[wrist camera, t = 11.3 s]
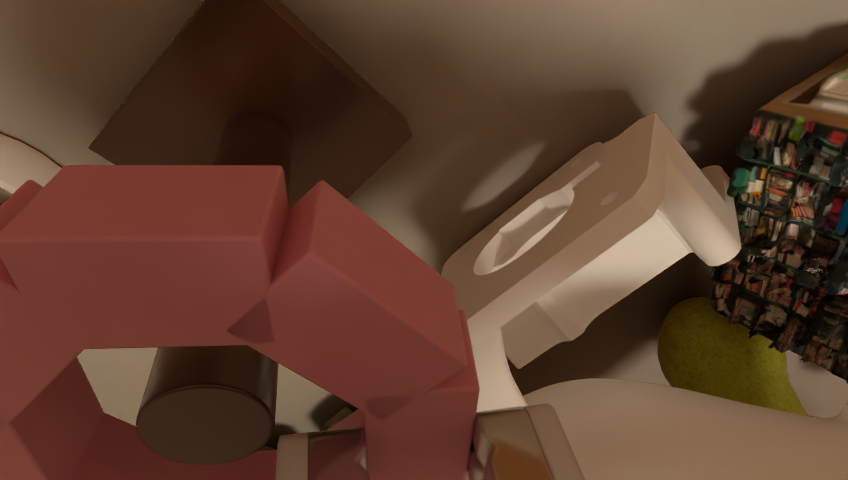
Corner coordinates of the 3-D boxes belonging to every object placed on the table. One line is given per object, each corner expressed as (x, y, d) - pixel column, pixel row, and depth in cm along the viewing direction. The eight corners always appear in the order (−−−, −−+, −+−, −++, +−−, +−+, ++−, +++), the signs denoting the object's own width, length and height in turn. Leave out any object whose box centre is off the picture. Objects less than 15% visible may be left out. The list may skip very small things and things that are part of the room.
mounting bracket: (648, 83, 24) (761, 101, 14) (729, 188, 25) (889, 275, 15) (447, 246, 28) (422, 353, 18) (526, 332, 29) (544, 480, 19)
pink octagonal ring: (-126, 380, 11) (-216, 475, 9) (141, 30, 7) (75, 83, 6) (270, 533, 15) (257, 614, 14) (549, 361, 12) (576, 443, 10)
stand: (101, 129, 20) (-146, 470, 9) (235, -41, 17) (115, 151, 7) (278, 243, 24) (252, 568, 13) (407, 119, 22) (502, 394, 11)
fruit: (625, 299, 30) (774, 516, 20) (729, 255, 29) (934, 458, 19) (643, 359, 33) (777, 568, 24) (736, 320, 32) (913, 520, 23)
